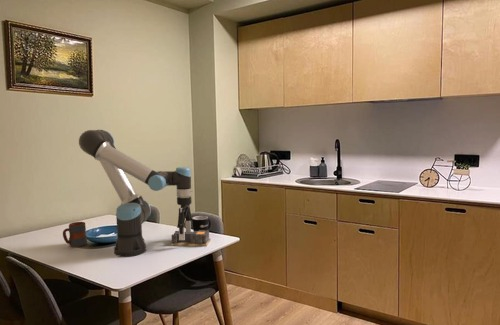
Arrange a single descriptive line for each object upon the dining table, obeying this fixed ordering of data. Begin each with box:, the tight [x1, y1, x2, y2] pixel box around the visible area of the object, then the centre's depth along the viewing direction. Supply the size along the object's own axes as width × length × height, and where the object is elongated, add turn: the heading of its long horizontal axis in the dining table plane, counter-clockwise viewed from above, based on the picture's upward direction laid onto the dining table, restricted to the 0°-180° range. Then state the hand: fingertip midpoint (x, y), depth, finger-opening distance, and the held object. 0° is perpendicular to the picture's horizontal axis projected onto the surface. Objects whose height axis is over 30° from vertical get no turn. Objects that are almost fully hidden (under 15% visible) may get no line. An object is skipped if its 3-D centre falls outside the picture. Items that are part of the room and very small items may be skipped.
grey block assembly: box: [170, 229, 211, 247], centre depth 199 cm, size 19×10×6 cm, turn 86°
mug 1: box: [62, 221, 88, 248], centre depth 197 cm, size 9×12×12 cm
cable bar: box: [173, 231, 205, 243], centre depth 199 cm, size 16×5×5 cm, turn 86°
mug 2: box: [191, 215, 211, 232], centre depth 215 cm, size 12×9×10 cm
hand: (185, 236), depth 199 cm, fingers open, 13 cm apart
